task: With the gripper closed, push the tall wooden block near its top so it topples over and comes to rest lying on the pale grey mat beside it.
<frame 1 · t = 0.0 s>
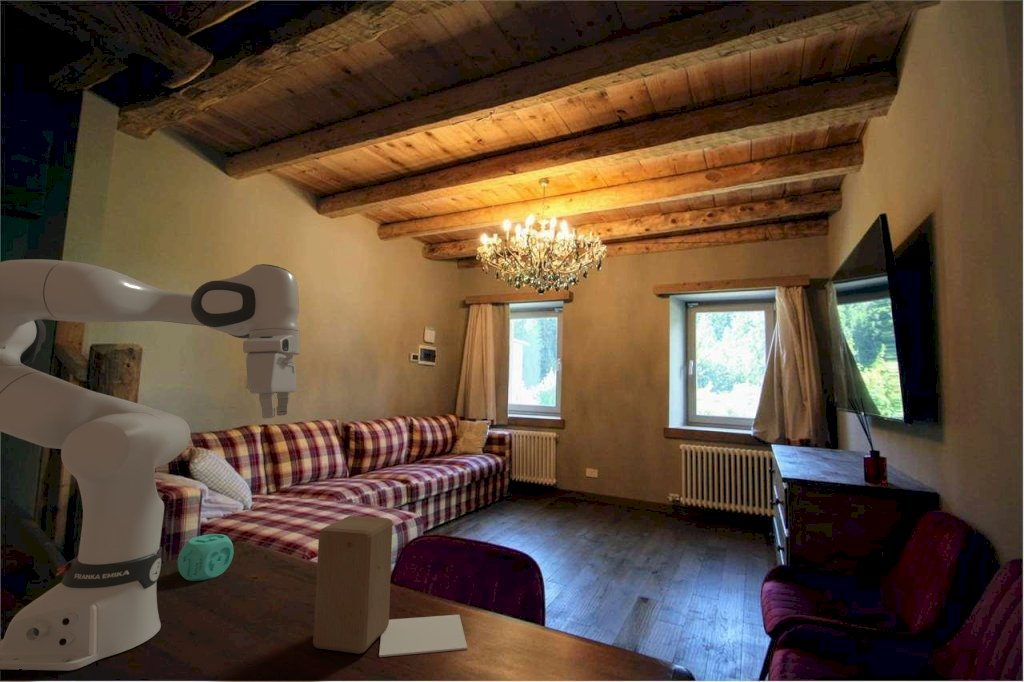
hand: (275, 416, 88), 39 cm above the table, tool pointing down, fingers open, 8 cm apart
wooden block: (352, 639, 81), on the table, touching mat
decorative dice: (204, 575, 106), on the table
mat: (422, 634, 83), on the table
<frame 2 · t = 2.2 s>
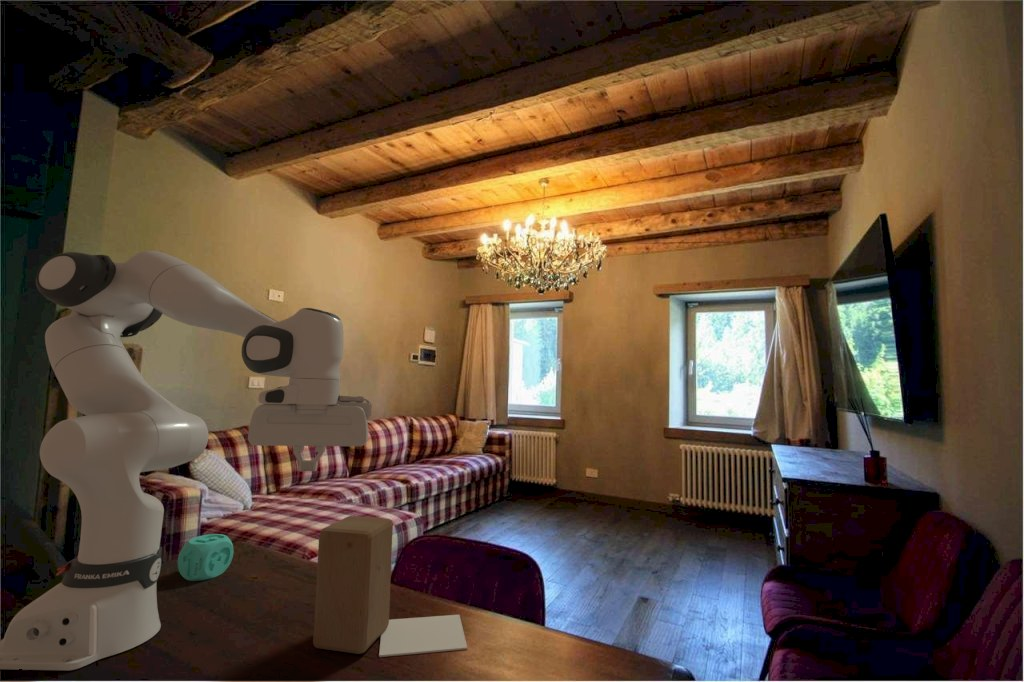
hand: (307, 471, 82), 30 cm above the table, tool pointing down, fingers closed
nothing on the table moved.
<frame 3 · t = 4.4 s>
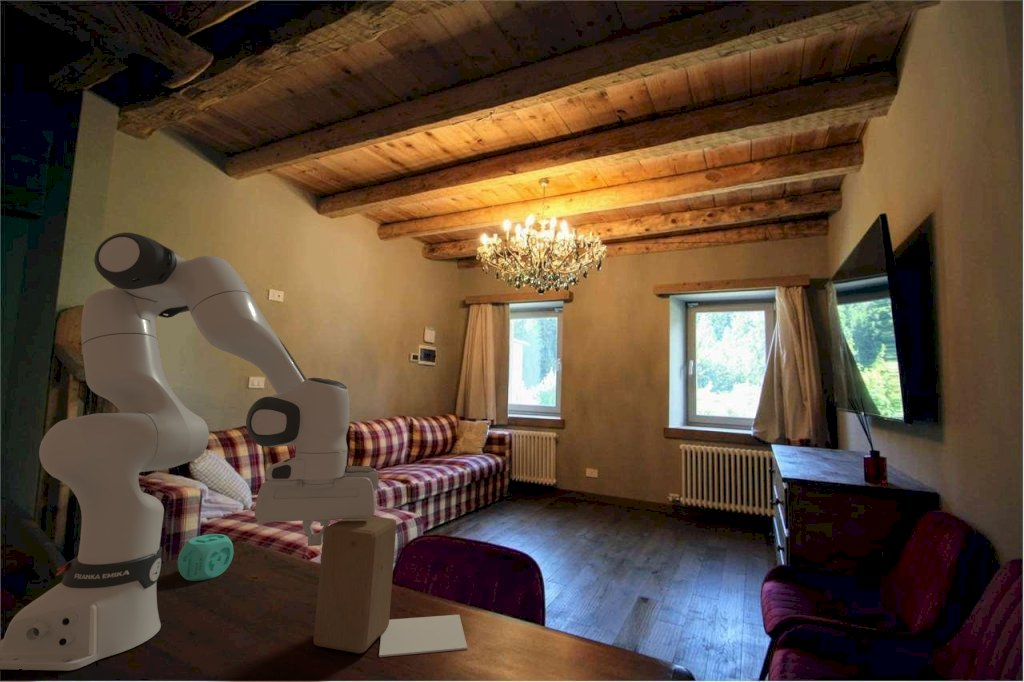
hand: (315, 544, 81), 17 cm above the table, tool pointing down, fingers closed
wooden block: (352, 638, 81), on the table, touching gripper, mat
everything else where it was.
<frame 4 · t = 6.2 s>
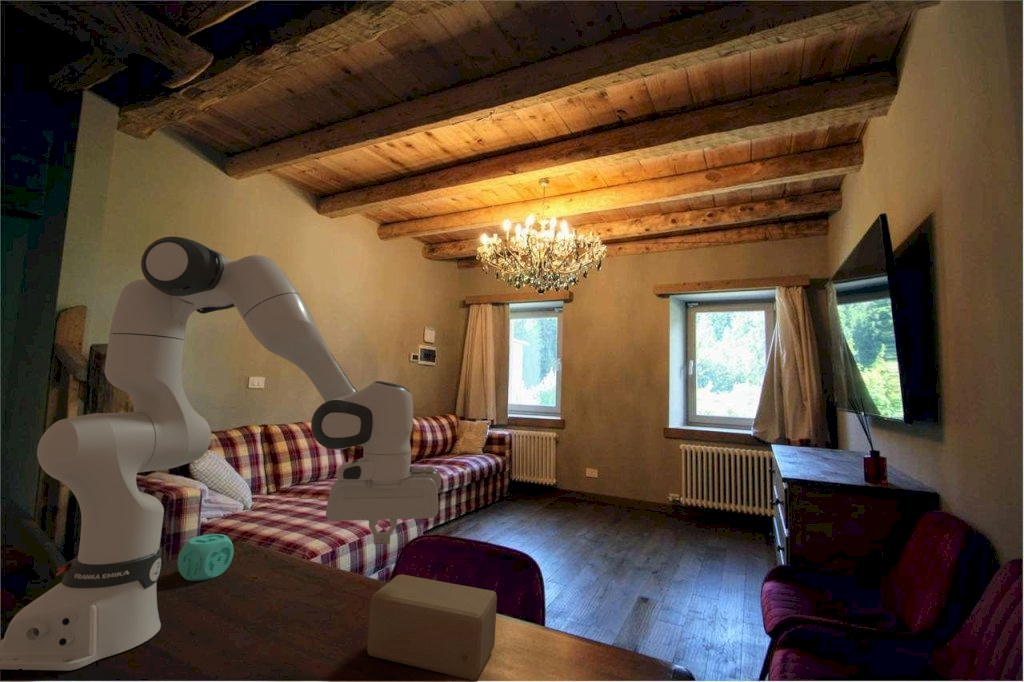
hand: (381, 543, 84), 16 cm above the table, tool pointing down, fingers closed
wooden block: (381, 611, 81), point 5 cm above the table, touching mat
everything else where it was.
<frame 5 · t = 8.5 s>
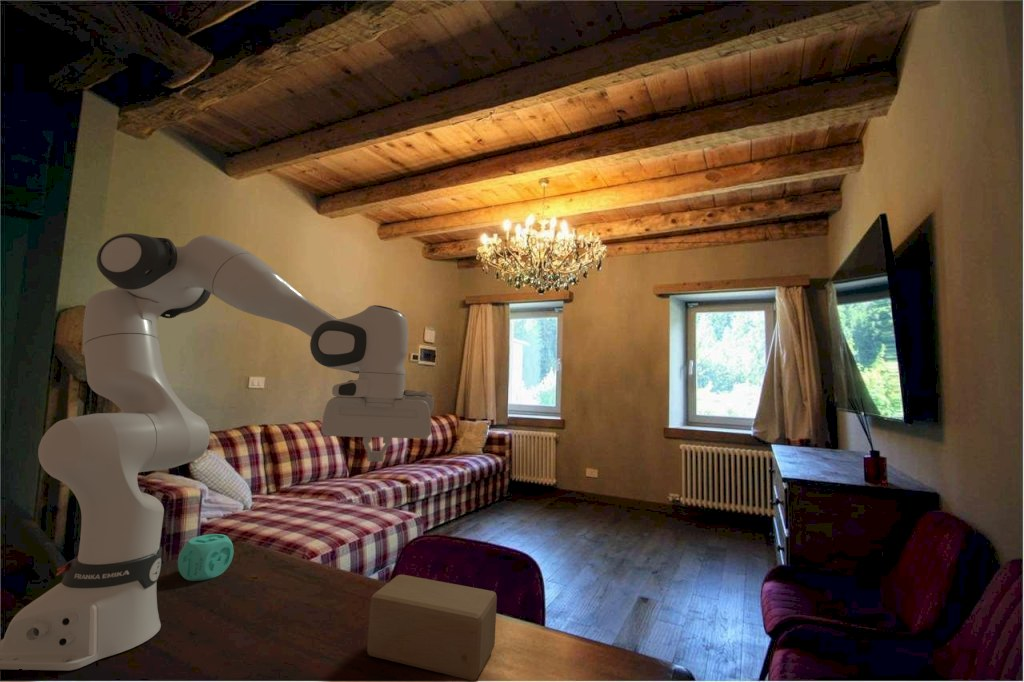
hand: (375, 461, 86), 31 cm above the table, tool pointing down, fingers closed
nothing on the table moved.
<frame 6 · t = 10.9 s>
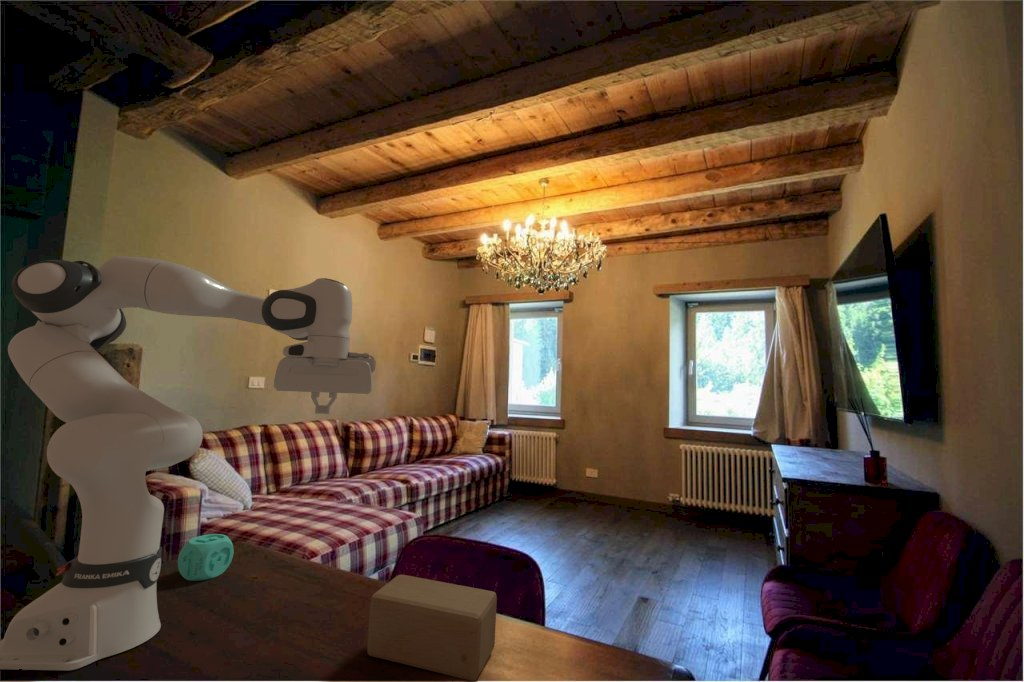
hand: (322, 413, 99), 39 cm above the table, tool pointing down, fingers closed
wooden block: (381, 611, 81), point 5 cm above the table, touching mat
everything else where it was.
at the end: wooden block tilted 91°; wooden block touching mat; wooden block inside the target area (8.2 cm from its centre), point 5.4 cm above the table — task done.
